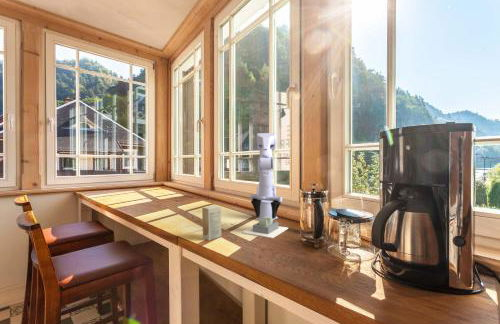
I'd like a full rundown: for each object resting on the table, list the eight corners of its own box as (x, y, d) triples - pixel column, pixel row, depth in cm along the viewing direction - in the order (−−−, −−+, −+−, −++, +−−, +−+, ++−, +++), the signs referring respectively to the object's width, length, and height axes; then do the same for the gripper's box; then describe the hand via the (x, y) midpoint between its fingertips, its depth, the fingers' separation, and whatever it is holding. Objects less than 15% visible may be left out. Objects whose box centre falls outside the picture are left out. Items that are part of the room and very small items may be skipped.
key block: (258, 230, 106) (258, 219, 106) (265, 227, 112) (265, 216, 111) (266, 232, 105) (266, 220, 104) (272, 228, 110) (272, 217, 110)
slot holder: (260, 224, 119) (260, 218, 118) (288, 228, 111) (288, 221, 111) (242, 233, 105) (242, 225, 105) (272, 238, 98) (272, 230, 98)
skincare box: (215, 234, 103) (215, 204, 103) (221, 237, 100) (221, 206, 100) (201, 238, 98) (201, 207, 98) (208, 240, 95) (208, 208, 95)
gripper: (246, 185, 108) (246, 217, 108) (277, 187, 101) (277, 221, 101) (254, 184, 114) (254, 213, 114) (284, 185, 107) (284, 217, 107)
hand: (265, 217), depth 108 cm, fingers open, 7 cm apart
